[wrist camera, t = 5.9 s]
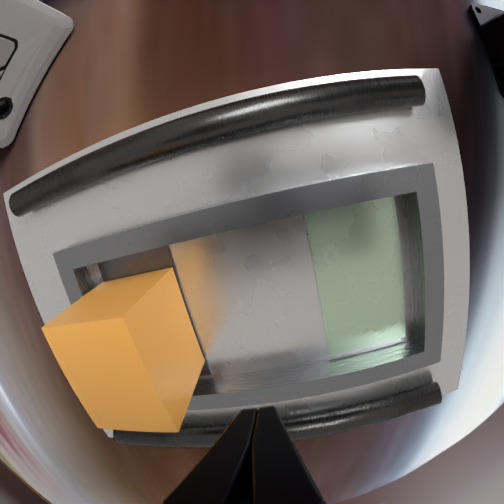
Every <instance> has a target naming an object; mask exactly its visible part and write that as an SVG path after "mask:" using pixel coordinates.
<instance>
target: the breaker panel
mask: <svg viewBox="0 0 504 504" xmlns="http://www.w3.org/2000/svg"><path fill="white" fill-rule="evenodd" d="M3 195H4V200H5V204H6V209H7V213H8V217H9V222H10V226H11V229H12V233H13V237H14V240H15V244H16V247H17V251H18V254H19V257H20V260H21V264H22V267H23V270H24V273H25V276H26V278H27V281H28V284H29V287H30V289H31V292H32V295H33V297H34V300H35V302H36V305H37V307H38V310H39V312H40V315H41V317H42V319H43V322H44V324H45V325H46V324H47V323H48V322H50V321H51V320H52V319H53V318H55V317H56V316H57V315H59V314H60V313H61V312H63V311H64V310H65V309H67V308H68V307H69V306H71V305H72V304H73V303H75V302H76V301H77V300H79V299H80V298H81V297H83V296H84V295H85V294H87V293H88V292H90V291H91V290H92V289H94V288H95V287H96V286H98V285H99V284H101V283H102V282H106V281H111V280H115V279H120V278H124V277H129V276H134V275H138V274H143V273H147V272H152V271H157V270H161V269H166V268H171V267H173V270H174V273H175V276H176V279H177V282H178V286H179V289H180V292H181V295H182V298H183V301H184V304H185V307H186V310H187V312H188V315H189V318H190V321H191V324H192V327H193V330H194V332H195V335H196V338H197V341H198V343H199V346H200V349H201V352H202V354H203V357H204V360H205V362H204V364H203V367H202V370H201V373H200V375H199V378H198V381H197V384H196V386H195V389H194V392H193V395H192V397H191V400H190V403H189V406H188V408H187V411H186V414H185V417H184V419H183V422H182V425H181V428H180V431H179V432H142V431H125V430H113V429H103V430H104V431H105V432H106V434H107V435H108V437H112V438H114V440H115V442H116V443H117V444H122V445H133V446H145V447H163V448H211V447H212V445H213V444H214V443H215V442H216V441H217V439H218V438H219V437H220V436H221V434H222V433H223V432H224V431H225V430H226V428H227V427H228V426H229V425H230V423H231V422H232V421H233V420H234V418H235V417H236V416H237V414H238V413H239V412H240V411H241V410H243V409H249V408H257V409H259V408H260V407H266V406H275V407H276V409H277V411H278V413H279V415H280V417H281V419H282V421H283V423H284V425H285V427H286V429H287V431H288V433H289V435H290V437H291V439H292V441H297V440H303V439H310V438H315V437H321V436H326V435H332V434H336V433H341V432H346V431H350V430H355V429H359V428H363V427H367V426H371V425H375V424H378V423H382V422H386V421H389V420H393V419H396V418H399V417H402V416H406V415H409V414H412V413H415V412H418V411H421V410H424V409H426V408H429V407H432V406H435V405H437V404H440V403H441V400H442V395H444V394H447V393H450V392H452V391H455V390H457V389H458V385H459V379H460V374H461V368H462V362H463V355H464V347H465V339H466V330H467V319H468V306H469V284H470V247H469V225H468V212H467V201H466V191H465V183H464V176H463V169H462V163H461V157H460V151H459V146H458V141H457V136H456V131H455V126H454V122H453V118H452V114H451V110H450V106H449V102H448V98H447V95H446V91H445V88H444V84H443V81H442V78H441V75H440V72H439V69H395V70H379V71H367V72H357V73H347V74H339V75H331V76H324V77H318V78H311V79H305V80H299V81H294V82H289V83H283V84H278V85H274V86H269V87H264V88H260V89H255V90H251V91H247V92H243V93H239V94H235V95H231V96H227V97H224V98H220V99H217V100H213V101H210V102H206V103H203V104H199V105H196V106H193V107H190V108H187V109H184V110H181V111H178V112H175V113H172V114H169V115H166V116H163V117H160V118H157V119H155V120H152V121H149V122H147V123H144V124H141V125H139V126H136V127H134V128H131V129H129V130H126V131H124V132H121V133H119V134H117V135H114V136H112V137H110V138H107V139H105V140H103V141H100V142H98V143H96V144H94V145H92V146H90V147H87V148H85V149H83V150H81V151H79V152H77V153H75V154H73V155H71V156H69V157H67V158H65V159H63V160H61V161H59V162H57V163H55V164H53V165H51V166H50V167H48V168H46V169H44V170H42V171H40V172H39V173H37V174H35V175H33V176H32V177H30V178H28V179H26V180H25V181H23V182H21V183H20V184H18V185H16V186H15V187H13V188H12V189H10V190H8V191H7V192H5V193H4V194H3Z"/></svg>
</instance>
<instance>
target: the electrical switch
mask: <svg viewBox="0 0 504 504" xmlns="http://www.w3.org/2000/svg"><path fill="white" fill-rule="evenodd" d="M72 30H73V21H72V19H71V18H70V17H68V16H66V15H65V14H63V13H61V12H59V11H58V10H56V9H54V8H52V7H50V6H48V5H46V4H44V3H42V2H40V1H38V0H0V101H1V103H0V148H4V147H6V146H8V145H10V144H11V142H12V141H13V140H14V137H15V135H16V132H17V130H18V128H19V125H20V123H21V121H22V119H23V116H24V114H25V112H26V110H27V108H28V106H29V104H30V101H31V99H32V97H33V95H34V93H35V92H36V90H37V88H38V86H39V84H40V82H41V80H42V78H43V77H44V75H45V73H46V71H47V69H48V68H49V66H50V64H51V63H52V61H53V59H54V58H55V56H56V54H57V53H58V51H59V50H60V48H61V46H62V45H63V43H64V42H65V40H66V39H67V37H68V36H69V34H70V33H71V31H72Z"/></svg>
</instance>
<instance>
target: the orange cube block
mask: <svg viewBox="0 0 504 504" xmlns="http://www.w3.org/2000/svg"><path fill="white" fill-rule="evenodd" d="M42 330H43V333H44V335H45V337H46V339H47V341H48V343H49V345H50V347H51V349H52V351H53V353H54V355H55V357H56V359H57V361H58V363H59V365H60V367H61V369H62V371H63V372H64V374H65V376H66V378H67V380H68V381H69V383H70V385H71V387H72V388H73V390H74V392H75V393H76V395H77V397H78V398H79V400H80V402H81V403H82V405H83V406H84V408H85V410H86V411H87V413H88V414H89V416H90V417H91V419H92V420H93V422H94V423H95V425H96V426H97V428H103V429H113V430H125V431H142V432H179V431H180V428H181V425H182V422H183V419H184V417H185V414H186V411H187V408H188V406H189V403H190V400H191V397H192V395H193V392H194V389H195V386H196V384H197V381H198V378H199V375H200V373H201V370H202V367H203V364H204V362H205V360H204V357H203V354H202V352H201V349H200V346H199V343H198V341H197V338H196V335H195V332H194V330H193V327H192V324H191V321H190V318H189V315H188V312H187V310H186V307H185V304H184V301H183V298H182V295H181V292H180V289H179V286H178V282H177V279H176V276H175V273H174V270H173V267H171V268H166V269H161V270H157V271H152V272H147V273H143V274H138V275H134V276H129V277H124V278H120V279H115V280H111V281H106V282H102V283H101V284H99V285H98V286H96V287H95V288H94V289H92V290H91V291H90V292H88V293H87V294H85V295H84V296H83V297H81V298H80V299H79V300H77V301H76V302H75V303H73V304H72V305H71V306H69V307H68V308H67V309H65V310H64V311H63V312H61V313H60V314H59V315H57V316H56V317H55V318H53V319H52V320H51V321H50V322H48V323H47V324H46V325H44V326H43V327H42Z"/></svg>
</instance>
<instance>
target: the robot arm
mask: <svg viewBox="0 0 504 504" xmlns="http://www.w3.org/2000/svg"><path fill="white" fill-rule="evenodd" d="M469 10H470V13H471V15H472V17H473V19H474V21H475V24H476V26H477V28H478V31H479V33H480V35H481V38H482V40H483V43H484V45H485V48H486V51H487V53H488V56H489V59H490V62H491V65H492V68H493V71H494V74H495V77H496V80H497V84H498V87H499V91H500V93H501V95H502V97H503V98H504V11H502V10H499V9H495V8H491V7H487V6H483V5H479V4H472V5H471V6H470V7H469ZM163 504H327V503H326V502H325V501H324V499H323V497H322V495H321V493H320V491H319V489H318V487H317V486H316V484H315V482H314V480H313V478H312V477H311V475H310V473H309V471H308V469H307V467H306V465H305V463H304V462H303V460H302V458H301V456H300V454H299V452H298V450H297V448H296V446H295V444H294V443H293V441H292V439H291V437H290V435H289V433H288V431H287V429H286V427H285V425H284V423H283V421H282V419H281V417H280V415H279V413H278V411H277V409H276V407H275V406H266V407H260V408H259V409H257V408H249V409H243V410H241V411H240V412H239V413H238V414H237V416H236V417H235V418H234V420H233V421H232V422H231V423H230V425H229V426H228V427H227V428H226V430H225V431H224V432H223V433H222V434H221V436H220V437H219V438H218V439H217V441H216V442H215V443H214V444H213V445H212V447H211V448H210V449H209V450H208V451H207V453H206V454H205V455H204V456H203V457H202V458H201V460H200V461H199V462H198V463H197V464H196V465H195V467H194V468H193V469H192V470H191V471H190V472H189V473H188V475H187V476H186V477H185V478H184V479H183V480H182V481H181V482H180V483H179V485H178V486H177V487H176V488H175V489H174V490H173V491H172V492H171V493H170V494H169V495H168V497H167V498H166V499H165V500H164V501H163Z"/></svg>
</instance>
